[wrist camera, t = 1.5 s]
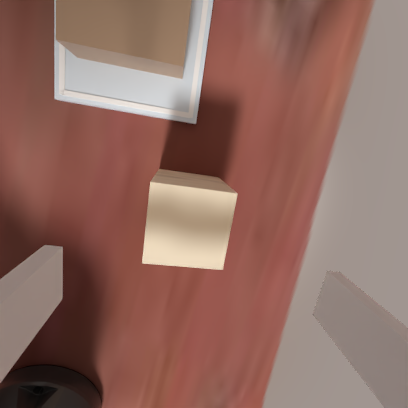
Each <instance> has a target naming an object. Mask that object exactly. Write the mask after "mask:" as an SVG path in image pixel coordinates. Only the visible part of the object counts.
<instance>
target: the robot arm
mask: <svg viewBox="0 0 408 408" xmlns="http://www.w3.org/2000/svg"><path fill="white" fill-rule="evenodd" d="M62 299H63V247H61V246H50V245H44V246H43V247H41V248H40V249H39V250H37V251H36V252H35V253H33V254H32V255H31V256H30V257H28V258H27V259H26V260H24V261H23V262H22V263H21V264H19V265H18V266H17V267H15V268H14V269H13V270H11V271H10V272H9V273H8V274H6V275H5V276H4V277H2V278H1V279H0V408H101V399H100V395H99V393H98V391H97V389H96V388H95V386H94V385H93V384H92V383H91V382H90V381H89V380H88V379H87V378H85V377H84V376H82V375H81V374H79V373H77V372H75V371H72V370H70V369H66V368H63V367H58V366H49V365H39V366H30V367H25V368H22V369H19V370H16V371H13V372H11V373H9V374H8V372H9V371H10V369H11V368H12V367H13V365H14V364H15V363H16V361H17V360H18V359H19V357H20V356H21V355H22V353H23V352H24V350H25V349H26V348H27V346H28V345H29V344H30V342H31V341H32V340H33V338H34V337H35V336H36V334H37V333H38V332H39V330H40V329H41V327H42V326H43V325H44V323H45V322H46V321H47V319H48V318H49V317H50V315H51V314H52V313H53V311H54V310H55V309H56V307H57V306H58V304H59V303H60V302H61V300H62ZM313 315H314V317H315V318H316V319H317V321H318V322H319V323H320V325H321V326H322V327H323V328H324V330H325V331H326V332H327V334H328V335H329V336H330V338H331V339H332V340H333V341H334V343H335V344H336V345H337V347H338V348H339V349H340V350H341V352H342V353H343V355H344V356H345V357H346V358H347V360H348V361H349V362H350V364H351V365H352V366H353V367H354V369H355V370H356V371H357V373H358V374H359V375H360V377H361V378H362V379H363V381H364V382H365V383H366V385H367V386H368V387H369V388H370V390H371V391H372V392H373V393H374V395H375V396H376V397H377V399H378V400H379V401H380V403H381V404H382V405H383V407H384V408H408V328H407V327H406V326H405V325H404V324H403V323H401V322H400V321H399V320H398V319H396V318H395V317H394V316H393V315H392V314H390V313H389V312H388V311H387V310H385V309H384V308H383V307H382V306H381V305H379V304H378V303H377V302H376V301H374V300H373V299H372V298H371V297H370V296H368V295H367V294H366V293H365V292H364V291H362V290H361V289H360V288H358V287H357V286H356V285H355V284H354V283H353V282H351V281H350V280H349V279H347V278H346V277H345V276H344V275H343V274H342V273H340V272H333V271H327V272H326V276H325V279H324V282H323V285H322V288H321V291H320V294H319V297H318V300H317V303H316V306H315V309H314V312H313Z"/></svg>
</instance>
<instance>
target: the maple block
mask: <svg viewBox="0 0 408 408" xmlns="http://www.w3.org/2000/svg"><path fill="white" fill-rule="evenodd" d="M237 194H238V193H236V192H235V191H234V190H233V189H232V188H231V187H229V186H228V185H227V184H226V183H225V182H223V181H222V180H221V179H220V178H219V177H213V176H206V175H199V174H192V173H185V172H178V171H171V170H164V169H159V170H158V171H157V173H156V174H155V176H154V177H153V179H152V180H151V182H150V190H149V200H148V210H147V220H146V230H145V240H144V250H143V260H142V263H145V264H157V265H169V266H181V267H193V268H206V269H218V270H223V265H224V260H225V255H226V250H227V245H228V240H229V235H230V230H231V225H232V220H233V215H234V209H235V204H236V199H237Z"/></svg>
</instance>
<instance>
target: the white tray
mask: <svg viewBox="0 0 408 408" xmlns="http://www.w3.org/2000/svg"><path fill="white" fill-rule="evenodd" d="M212 7H213V0H54V65H55V99H56V100H59V101H65V102H70V103H76V104H82V105H87V106H93V107H99V108H105V109H110V110H116V111H122V112H127V113H133V114H139V115H144V116H150V117H156V118H161V119H167V120H173V121H179V122H184V123H190V124H196V121H197V114H198V106H199V99H200V92H201V85H202V78H203V71H204V64H205V57H206V50H207V43H208V36H209V29H210V21H211V14H212Z"/></svg>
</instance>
